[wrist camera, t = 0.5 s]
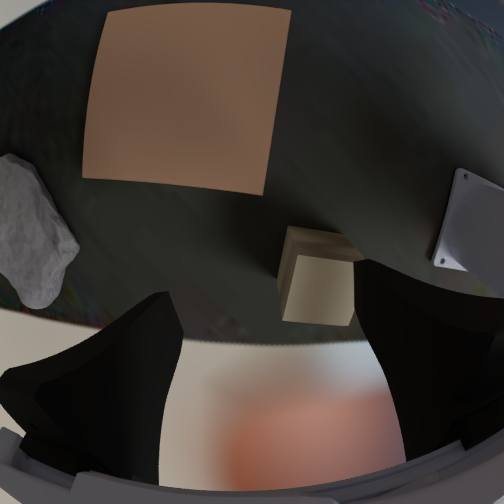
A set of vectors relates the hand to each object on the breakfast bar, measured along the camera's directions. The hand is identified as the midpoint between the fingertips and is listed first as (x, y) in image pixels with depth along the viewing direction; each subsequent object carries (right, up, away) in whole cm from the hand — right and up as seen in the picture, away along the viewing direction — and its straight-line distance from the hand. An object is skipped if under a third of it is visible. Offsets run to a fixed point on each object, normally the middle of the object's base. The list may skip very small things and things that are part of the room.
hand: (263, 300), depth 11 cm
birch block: (+4, +1, +9) cm, 10 cm away
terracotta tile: (-5, +12, +5) cm, 14 cm away
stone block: (-19, +5, +8) cm, 22 cm away
